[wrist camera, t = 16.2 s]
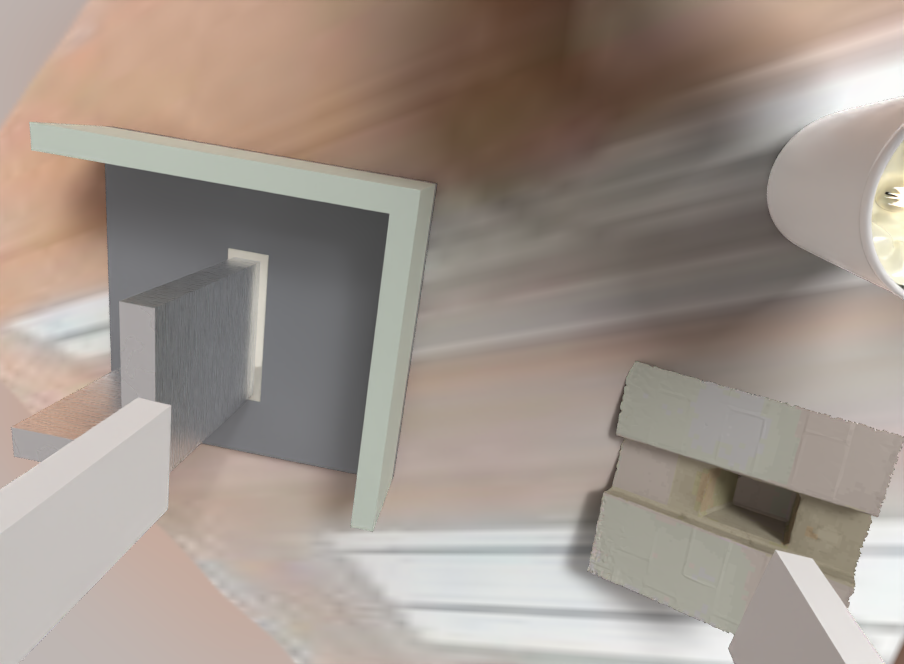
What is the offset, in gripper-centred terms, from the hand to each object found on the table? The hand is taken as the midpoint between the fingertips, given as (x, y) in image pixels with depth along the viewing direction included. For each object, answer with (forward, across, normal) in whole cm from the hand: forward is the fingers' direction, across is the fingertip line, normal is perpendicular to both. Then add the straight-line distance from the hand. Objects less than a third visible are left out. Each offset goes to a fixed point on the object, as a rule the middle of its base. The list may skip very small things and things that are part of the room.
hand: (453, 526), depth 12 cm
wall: (+28, +17, -12) cm, 35 cm away
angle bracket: (+26, -20, -8) cm, 34 cm away
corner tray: (+27, -16, -7) cm, 32 cm away
